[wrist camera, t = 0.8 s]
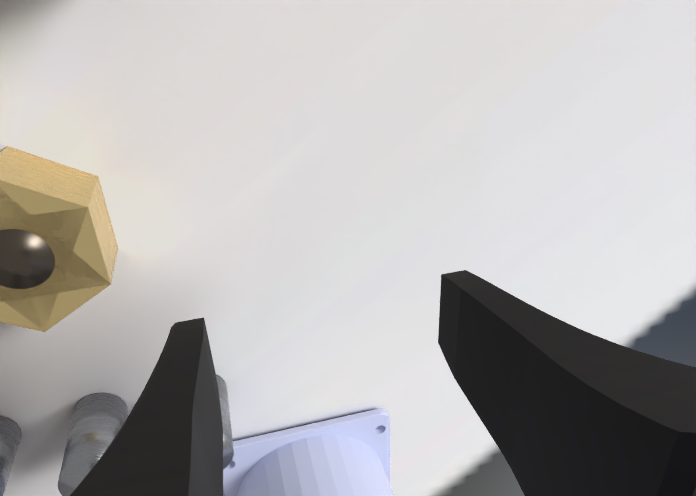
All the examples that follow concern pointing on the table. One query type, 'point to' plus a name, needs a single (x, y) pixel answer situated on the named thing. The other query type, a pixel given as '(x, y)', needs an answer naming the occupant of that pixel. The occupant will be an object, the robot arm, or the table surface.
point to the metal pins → (93, 437)
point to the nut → (50, 240)
